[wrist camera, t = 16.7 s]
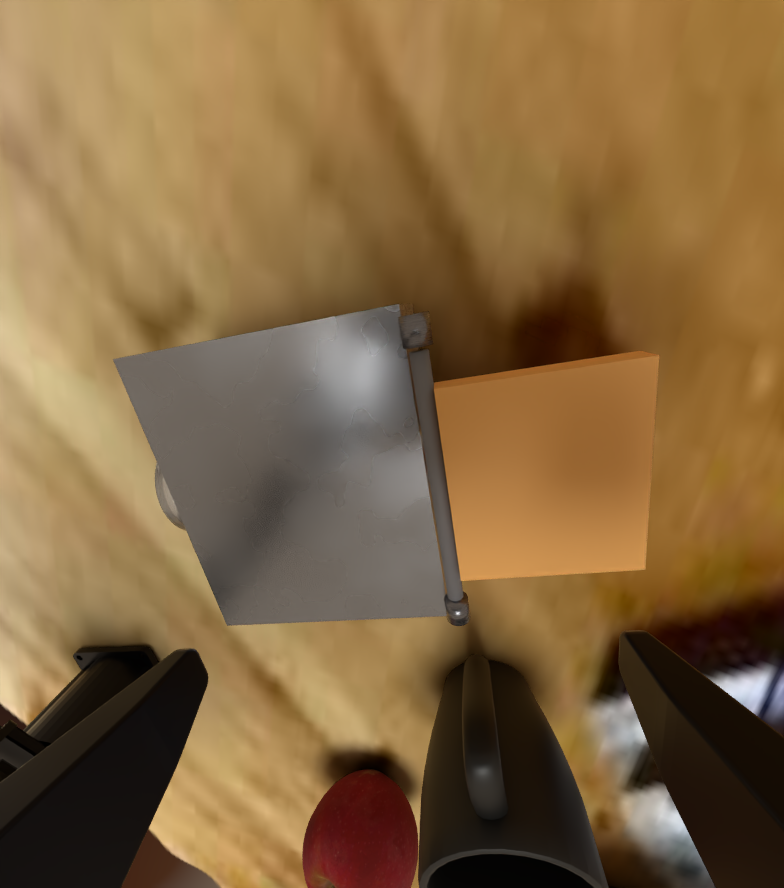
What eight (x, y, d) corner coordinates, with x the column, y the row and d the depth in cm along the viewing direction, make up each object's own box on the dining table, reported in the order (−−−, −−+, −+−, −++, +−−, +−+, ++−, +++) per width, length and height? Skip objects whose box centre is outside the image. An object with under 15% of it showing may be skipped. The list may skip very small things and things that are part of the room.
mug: (541, 592, 21) (614, 794, 13) (553, 728, 25) (614, 956, 16) (404, 602, 23) (382, 789, 14) (435, 729, 27) (434, 939, 18)
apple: (394, 739, 28) (378, 898, 20) (433, 802, 30) (431, 966, 23) (308, 751, 30) (265, 902, 22) (351, 810, 32) (324, 964, 24)
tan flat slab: (447, 605, 14) (643, 595, 12) (407, 355, 10) (662, 311, 9) (447, 586, 14) (629, 575, 13) (410, 350, 11) (641, 310, 10)
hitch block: (281, 542, 22) (216, 641, 16) (215, 341, 18) (91, 363, 12) (461, 527, 20) (472, 632, 14) (431, 300, 16) (426, 297, 10)
